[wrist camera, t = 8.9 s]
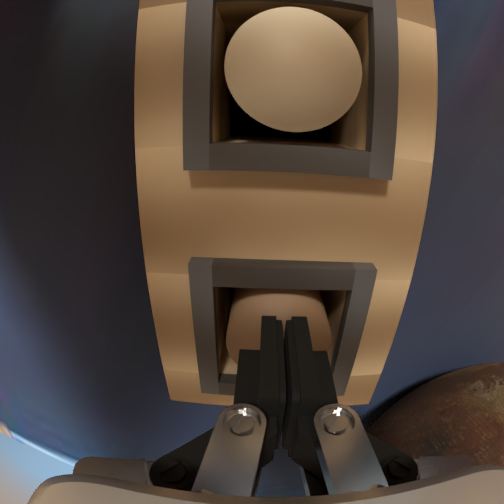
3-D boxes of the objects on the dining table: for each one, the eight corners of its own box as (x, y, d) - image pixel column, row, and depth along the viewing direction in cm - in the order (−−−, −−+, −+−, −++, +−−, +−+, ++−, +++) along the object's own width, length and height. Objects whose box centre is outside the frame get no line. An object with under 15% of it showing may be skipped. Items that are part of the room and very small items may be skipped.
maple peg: (241, 50, 13) (226, 5, 7) (323, 55, 13) (361, 15, 7) (239, 126, 15) (223, 130, 9) (321, 130, 14) (359, 137, 8)
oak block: (184, 7, 12) (139, -47, 6) (378, 18, 12) (437, -26, 6) (192, 329, 20) (168, 408, 14) (346, 334, 19) (371, 412, 13)
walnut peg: (238, 231, 17) (224, 296, 11) (313, 234, 17) (339, 300, 11) (238, 295, 18) (227, 377, 12) (306, 298, 18) (322, 379, 12)
